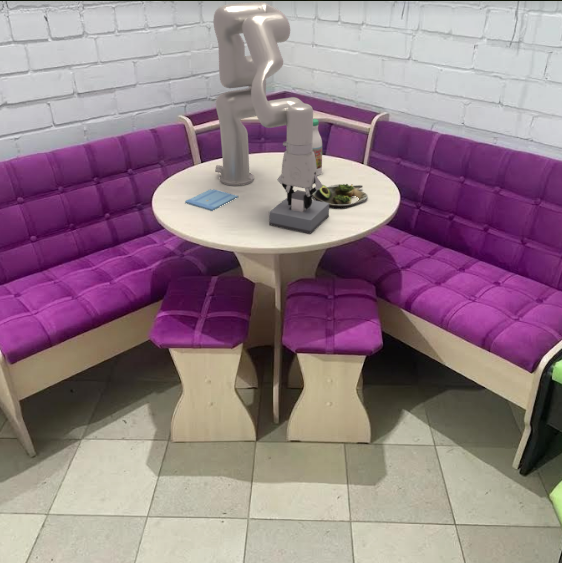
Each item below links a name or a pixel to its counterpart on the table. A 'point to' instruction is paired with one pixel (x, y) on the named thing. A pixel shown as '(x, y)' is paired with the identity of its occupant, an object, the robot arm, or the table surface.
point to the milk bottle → (317, 146)
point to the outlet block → (299, 216)
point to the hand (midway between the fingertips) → (299, 204)
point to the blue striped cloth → (211, 199)
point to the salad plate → (339, 195)
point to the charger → (298, 201)
